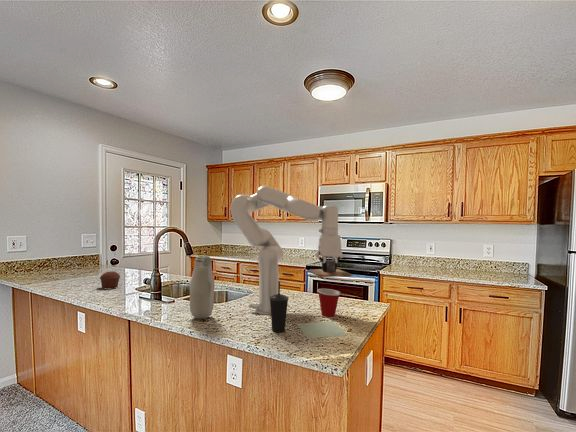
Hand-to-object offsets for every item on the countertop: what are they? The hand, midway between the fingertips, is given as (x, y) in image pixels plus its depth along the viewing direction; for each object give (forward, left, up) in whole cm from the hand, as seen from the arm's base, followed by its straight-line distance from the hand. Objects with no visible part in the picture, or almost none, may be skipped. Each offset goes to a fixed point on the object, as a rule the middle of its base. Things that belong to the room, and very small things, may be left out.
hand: (329, 270), depth 138 cm
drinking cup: (-27, -15, -21) cm, 38 cm away
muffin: (-117, +84, -21) cm, 146 cm away
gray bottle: (-57, +9, -21) cm, 62 cm away
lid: (0, 0, -1) cm, 1 cm away
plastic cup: (0, 0, -21) cm, 21 cm away
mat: (-10, -17, -21) cm, 29 cm away
